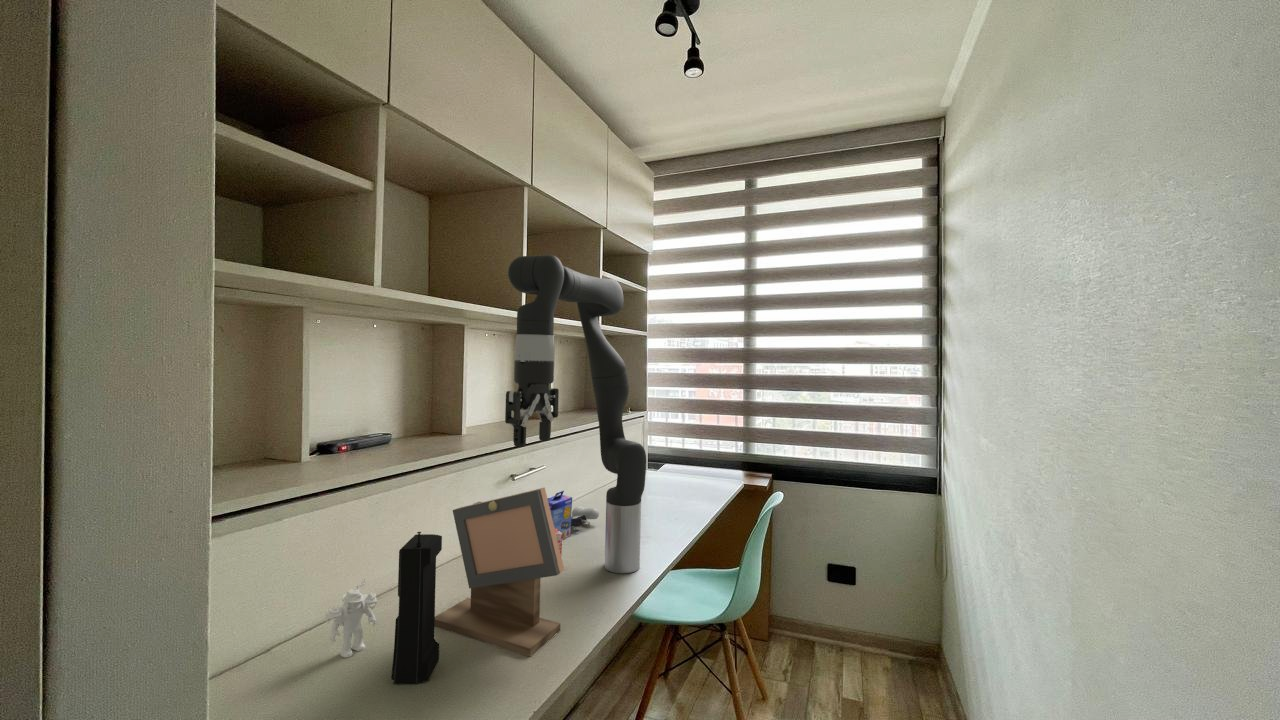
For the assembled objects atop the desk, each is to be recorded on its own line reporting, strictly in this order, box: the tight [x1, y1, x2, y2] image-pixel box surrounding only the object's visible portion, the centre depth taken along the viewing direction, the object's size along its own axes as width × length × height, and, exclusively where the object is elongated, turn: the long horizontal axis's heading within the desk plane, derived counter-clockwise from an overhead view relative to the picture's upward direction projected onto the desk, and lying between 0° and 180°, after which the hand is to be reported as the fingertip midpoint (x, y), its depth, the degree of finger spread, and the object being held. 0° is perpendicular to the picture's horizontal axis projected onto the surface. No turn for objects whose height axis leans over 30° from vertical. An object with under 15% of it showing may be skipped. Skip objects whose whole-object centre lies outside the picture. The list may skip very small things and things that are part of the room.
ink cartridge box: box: [547, 490, 573, 541], centre depth 154 cm, size 10×6×14 cm, turn 151°
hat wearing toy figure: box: [324, 578, 378, 658], centre depth 94 cm, size 9×4×12 cm, turn 147°
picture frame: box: [452, 487, 565, 590], centre depth 102 cm, size 3×22×16 cm, turn 66°
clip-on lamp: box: [571, 505, 600, 528], centre depth 169 cm, size 12×6×18 cm
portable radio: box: [390, 531, 443, 685], centre depth 89 cm, size 8×6×25 cm
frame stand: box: [434, 501, 561, 657], centre depth 103 cm, size 10×24×24 cm, turn 66°
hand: (532, 443), depth 99 cm, fingers open, 7 cm apart
